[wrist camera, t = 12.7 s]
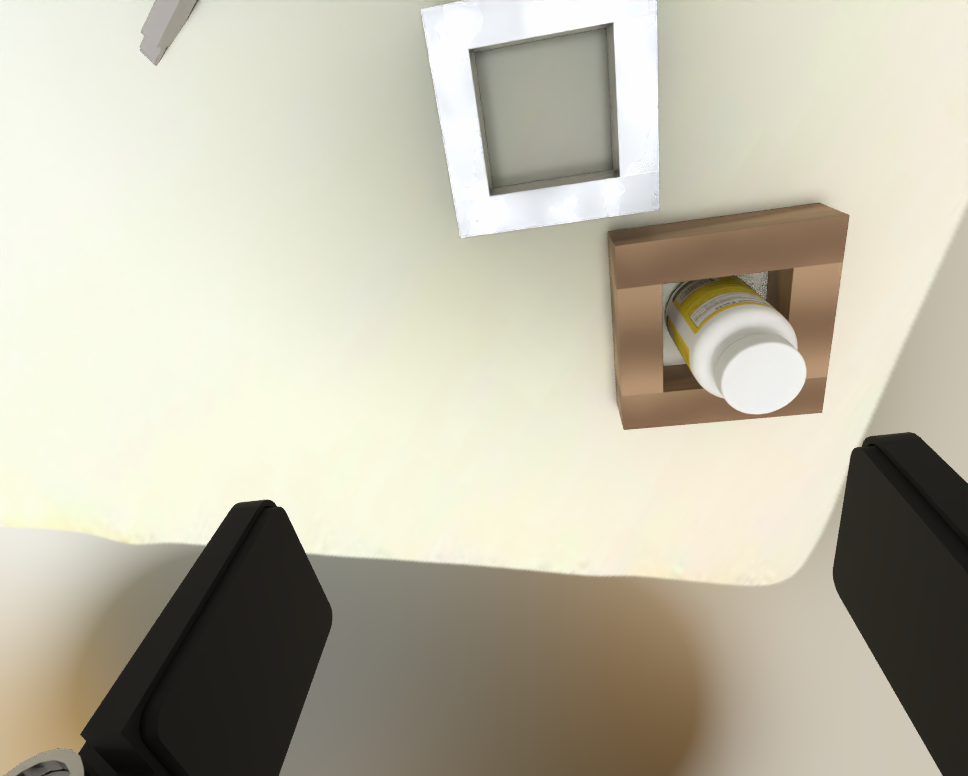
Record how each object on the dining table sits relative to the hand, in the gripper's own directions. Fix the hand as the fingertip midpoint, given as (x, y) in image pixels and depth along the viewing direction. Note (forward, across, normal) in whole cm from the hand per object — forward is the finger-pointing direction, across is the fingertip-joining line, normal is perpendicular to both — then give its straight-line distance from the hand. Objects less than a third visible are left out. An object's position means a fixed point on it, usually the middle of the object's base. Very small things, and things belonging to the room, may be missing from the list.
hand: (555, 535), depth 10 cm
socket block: (+28, -1, -4) cm, 28 cm away
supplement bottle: (+28, -10, +9) cm, 31 cm away
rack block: (+27, -10, +9) cm, 30 cm away
